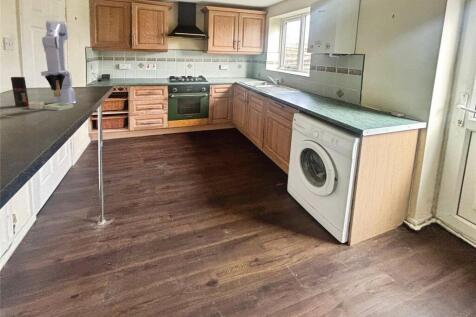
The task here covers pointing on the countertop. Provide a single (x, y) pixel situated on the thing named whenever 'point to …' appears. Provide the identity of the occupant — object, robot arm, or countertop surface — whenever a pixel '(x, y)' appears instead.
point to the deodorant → (19, 91)
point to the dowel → (57, 89)
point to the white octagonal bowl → (36, 105)
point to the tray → (58, 106)
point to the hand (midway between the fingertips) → (56, 89)
